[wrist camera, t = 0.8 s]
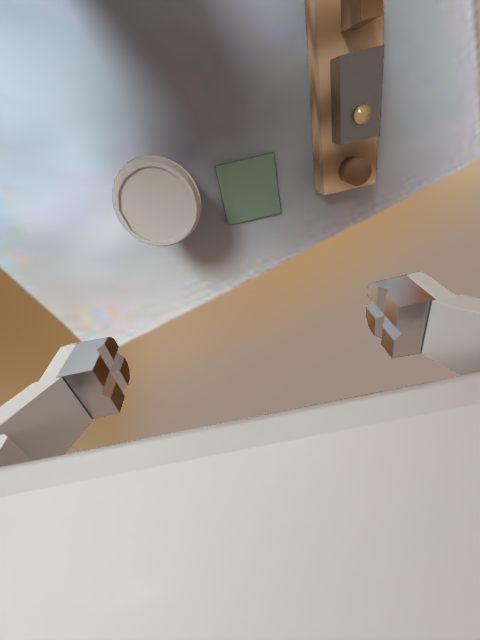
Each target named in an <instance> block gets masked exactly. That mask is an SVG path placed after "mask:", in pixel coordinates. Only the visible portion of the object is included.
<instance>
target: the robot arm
mask: <svg viewBox="0 0 480 640" xmlns="http://www.w3.org/2000/svg"><path fill="white" fill-rule="evenodd" d="M367 296H368V297H369V298H370V299H371V300H372V301H371V302H370V303H369V305H368V306H367V307H366V318H367V321H368V325H369V328H370V330H371V331H372V332H373V334H374V335H375V336H377V337H380V338H382V341H381V344H382V346H383V347H384V348H385V350H386V351H387V352H388V354H389V355H390V356H391V357H392V358H397V357H403V356H409V355H414V354H420V353H421V355H423V356H425V357H427V358H429V359H431V360H433V361H435V362H437V363H439V364H441V365H442V366H444V367H446V368H449V369H450V370H452V371H454V372H456V373H458V374H460V375H461V376H456V377H452V378H447V379H442V380H437V381H432V382H427V383H421V384H416V385H411V386H406V387H401V388H396V389H391V390H386V391H381V392H376V393H371V394H366V395H361V396H355V397H351V398H345V399H341V400H335V401H330V402H325V403H320V404H315V405H310V406H305V407H300V408H295V409H290V410H285V411H280V412H275V413H270V414H265V415H260V416H255V417H250V418H245V419H240V420H235V421H230V422H225V423H220V424H214V425H210V426H205V427H200V428H194V429H189V430H184V431H179V432H175V433H169V434H164V435H160V436H154V437H150V438H145V439H139V440H134V441H129V442H124V443H119V444H113V445H108V446H103V447H98V448H94V449H88V450H83V451H78V452H73V453H68V454H65V453H66V452H67V451H68V450H69V449H70V447H71V446H72V445H73V444H74V443H75V442H76V440H77V439H78V438H79V437H80V436H81V434H82V433H83V432H84V431H85V430H86V428H87V427H88V426H89V425H90V424H91V422H92V421H93V420H92V419H96V418H101V417H105V416H109V415H113V414H118V413H120V410H121V407H122V404H123V401H124V397H125V396H124V394H123V392H122V391H123V390H124V389H125V388H126V387H127V386H128V383H129V379H130V374H129V373H130V372H129V367H128V363H127V361H126V359H125V358H124V357H123V356H121V355H119V354H118V353H117V351H118V348H119V346H118V345H117V343H116V341H115V340H114V339H113V338H111V337H106V338H101V339H95V340H90V341H85V342H80V343H74V344H70V345H65V346H63V347H61V348H60V349H59V351H58V352H57V354H56V355H55V357H54V358H53V360H52V362H51V363H50V365H49V366H48V368H47V370H46V371H45V373H44V374H43V376H42V378H41V379H40V380H39V382H35V383H33V384H31V385H30V386H29V387H27V388H26V389H24V390H23V391H22V392H20V393H19V394H17V395H16V396H15V397H14V398H12V399H11V400H9V401H8V402H6V403H5V404H4V405H3V406H1V407H0V640H480V299H479V298H474V297H470V296H466V295H458V296H456V295H455V294H453V293H452V292H451V291H449V290H448V289H446V288H445V287H443V286H442V285H440V284H439V283H438V282H436V281H435V280H434V279H432V278H431V277H430V276H428V275H427V274H425V273H424V272H419V271H418V272H414V273H411V274H406V275H402V276H398V277H394V278H390V279H385V280H381V281H377V282H373V283H370V284H369V286H368V291H367Z"/></svg>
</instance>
